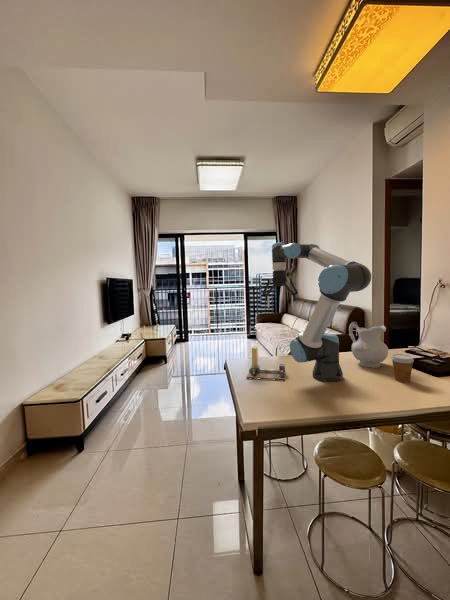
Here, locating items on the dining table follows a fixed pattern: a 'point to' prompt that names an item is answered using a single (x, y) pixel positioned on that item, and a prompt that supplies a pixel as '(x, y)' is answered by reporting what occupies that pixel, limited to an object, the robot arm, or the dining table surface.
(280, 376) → the pitch board
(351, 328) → the ceramic pitcher
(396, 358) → the disposable coffee cup
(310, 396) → the dining table surface
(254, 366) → the sliding leg
